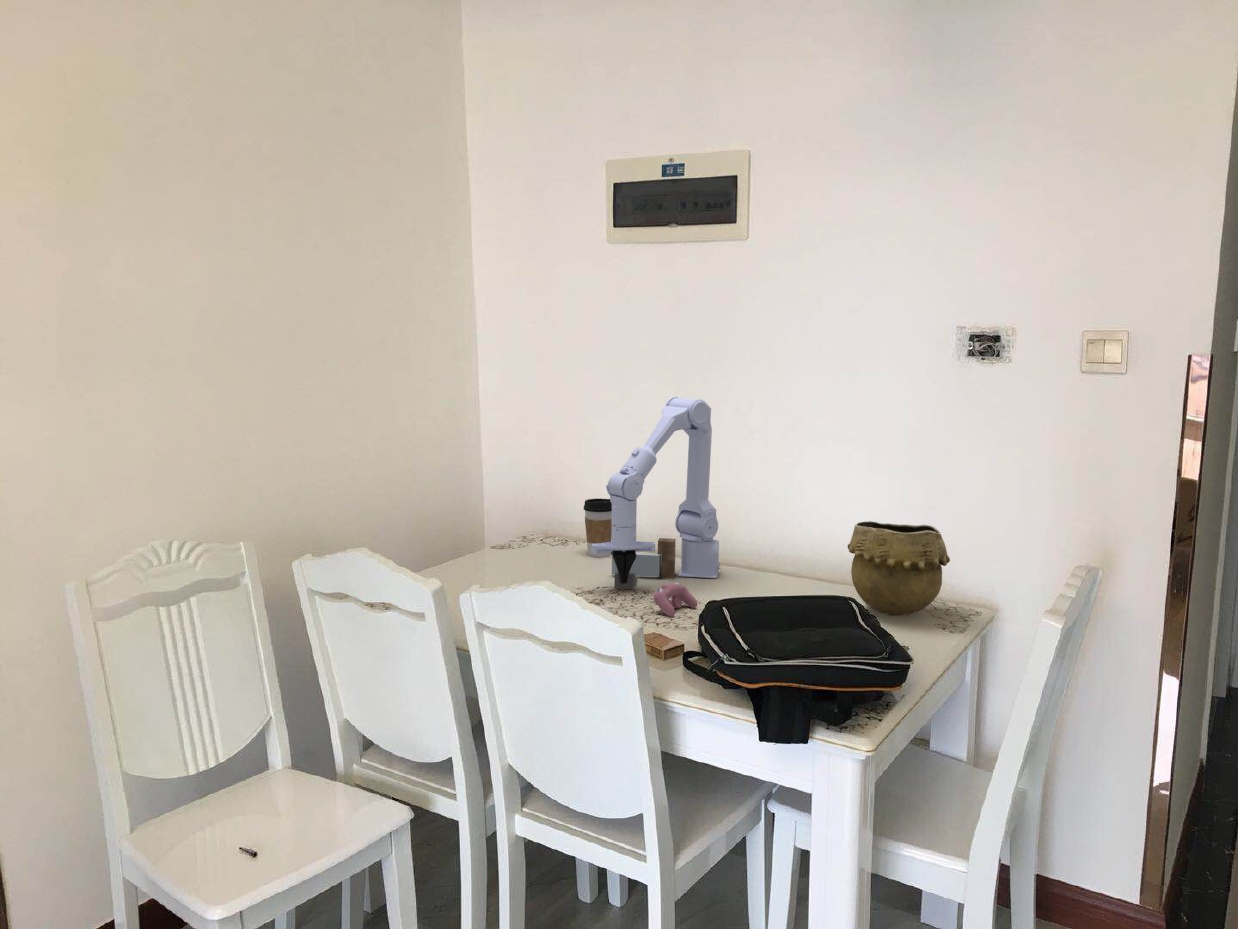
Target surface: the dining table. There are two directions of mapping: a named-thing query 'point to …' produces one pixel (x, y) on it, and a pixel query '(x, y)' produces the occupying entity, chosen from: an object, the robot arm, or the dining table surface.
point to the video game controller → (673, 598)
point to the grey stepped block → (630, 582)
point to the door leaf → (643, 565)
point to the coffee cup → (598, 523)
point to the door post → (667, 557)
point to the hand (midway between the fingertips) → (623, 582)
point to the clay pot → (897, 566)
